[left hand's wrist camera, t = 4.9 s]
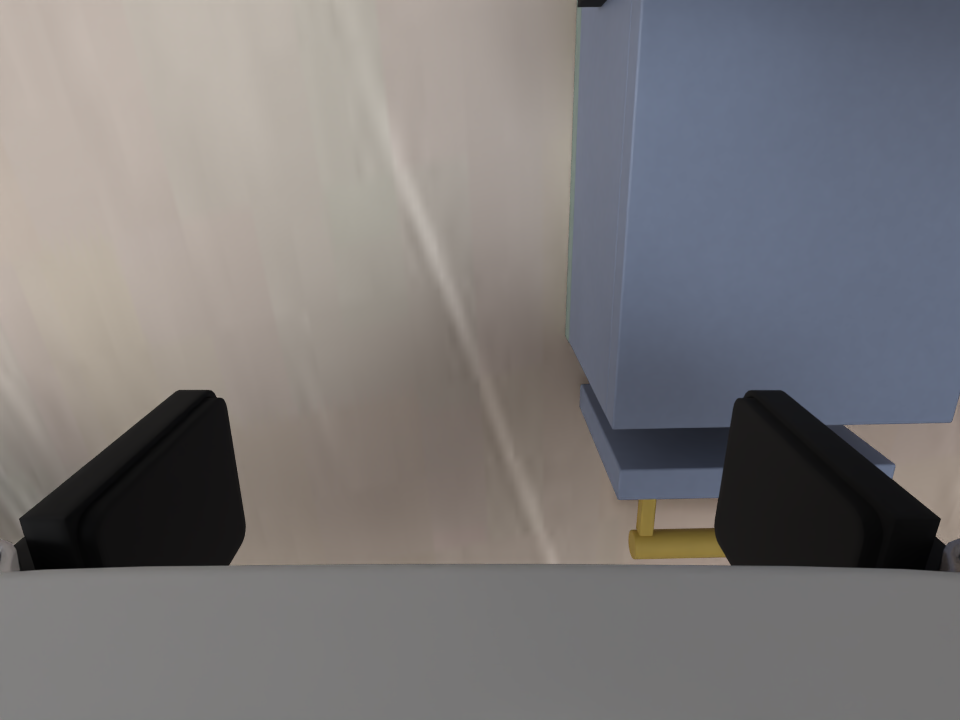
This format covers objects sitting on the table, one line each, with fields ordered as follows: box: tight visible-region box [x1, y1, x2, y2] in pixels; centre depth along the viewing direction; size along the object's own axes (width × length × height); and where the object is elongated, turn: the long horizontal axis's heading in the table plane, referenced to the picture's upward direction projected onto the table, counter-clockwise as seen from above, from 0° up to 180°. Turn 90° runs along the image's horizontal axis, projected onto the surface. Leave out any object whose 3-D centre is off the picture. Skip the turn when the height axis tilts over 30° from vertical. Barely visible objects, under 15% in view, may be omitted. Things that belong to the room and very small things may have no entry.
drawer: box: [580, 384, 895, 559], centre depth 22 cm, size 22×9×8 cm, turn 1°
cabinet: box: [565, 0, 960, 429], centre depth 20 cm, size 18×11×10 cm, turn 1°
